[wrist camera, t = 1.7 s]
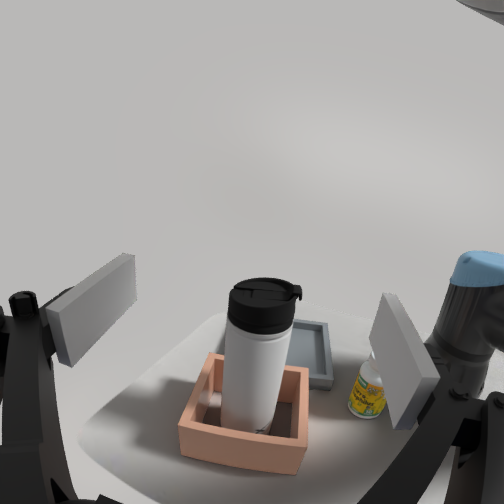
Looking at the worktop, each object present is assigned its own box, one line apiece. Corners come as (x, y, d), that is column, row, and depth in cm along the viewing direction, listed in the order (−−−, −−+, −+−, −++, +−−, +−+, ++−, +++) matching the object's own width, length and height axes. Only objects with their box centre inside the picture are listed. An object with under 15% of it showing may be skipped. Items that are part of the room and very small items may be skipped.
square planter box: (299, 399, 40) (308, 367, 38) (295, 474, 28) (307, 447, 26) (208, 384, 42) (209, 352, 40) (181, 454, 29) (177, 424, 27)
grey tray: (325, 332, 57) (327, 323, 56) (330, 390, 42) (333, 380, 41) (241, 320, 59) (242, 311, 58) (222, 375, 44) (223, 364, 43)
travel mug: (271, 448, 32) (305, 306, 25) (216, 441, 32) (223, 296, 25) (274, 412, 38) (301, 275, 31) (224, 406, 38) (234, 267, 31)
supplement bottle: (387, 407, 39) (411, 357, 35) (367, 426, 35) (392, 374, 32) (360, 389, 42) (380, 339, 39) (339, 405, 39) (358, 353, 36)
